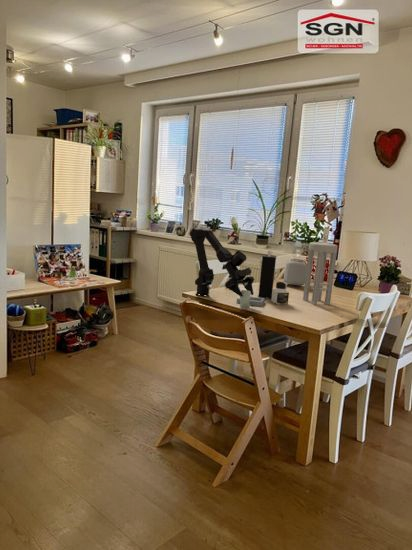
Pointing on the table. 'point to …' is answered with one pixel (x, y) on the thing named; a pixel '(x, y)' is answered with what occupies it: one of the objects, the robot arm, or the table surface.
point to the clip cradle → (254, 301)
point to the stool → (320, 271)
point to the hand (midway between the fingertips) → (247, 295)
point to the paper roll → (245, 299)
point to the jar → (295, 272)
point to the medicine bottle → (280, 293)
